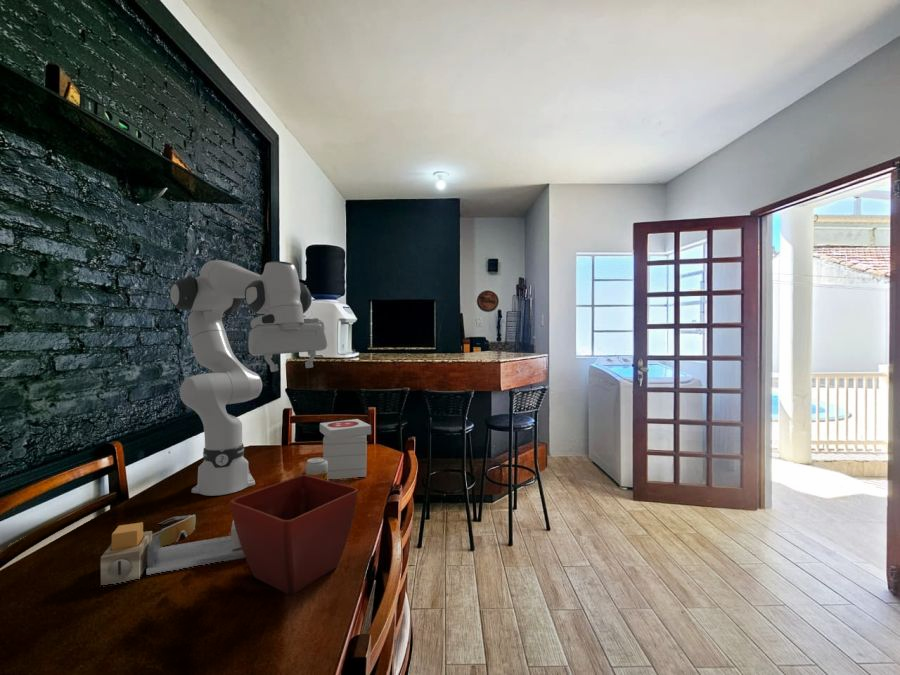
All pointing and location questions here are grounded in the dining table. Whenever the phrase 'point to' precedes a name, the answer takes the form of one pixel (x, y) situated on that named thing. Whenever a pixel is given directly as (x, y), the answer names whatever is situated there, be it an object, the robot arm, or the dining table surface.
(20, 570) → the dining table surface
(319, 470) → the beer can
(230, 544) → the rail
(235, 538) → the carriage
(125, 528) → the orange cube
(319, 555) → the plant pot
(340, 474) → the pizza boxes
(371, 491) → the dining table surface
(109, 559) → the box
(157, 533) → the sunglasses
